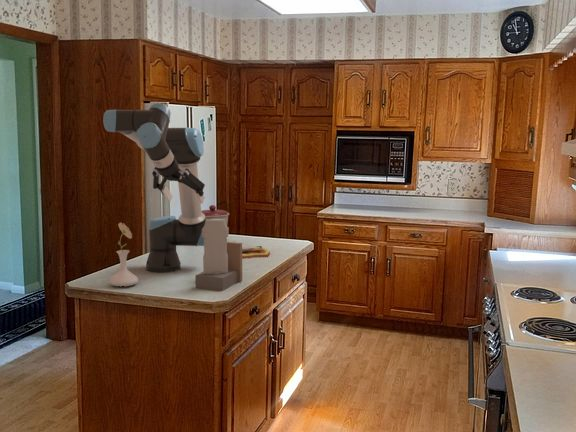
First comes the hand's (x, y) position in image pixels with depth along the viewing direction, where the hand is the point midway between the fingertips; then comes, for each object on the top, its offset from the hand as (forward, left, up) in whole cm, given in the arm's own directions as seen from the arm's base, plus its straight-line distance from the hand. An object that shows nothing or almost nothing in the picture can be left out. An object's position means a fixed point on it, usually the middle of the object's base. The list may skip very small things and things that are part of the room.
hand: (186, 199), depth 223 cm
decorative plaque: (-11, +72, -36) cm, 81 cm away
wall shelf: (+5, +15, -36) cm, 39 cm away
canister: (-36, +93, -36) cm, 106 cm away
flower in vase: (-30, +2, -36) cm, 47 cm away
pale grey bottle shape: (+5, +14, -31) cm, 34 cm away
